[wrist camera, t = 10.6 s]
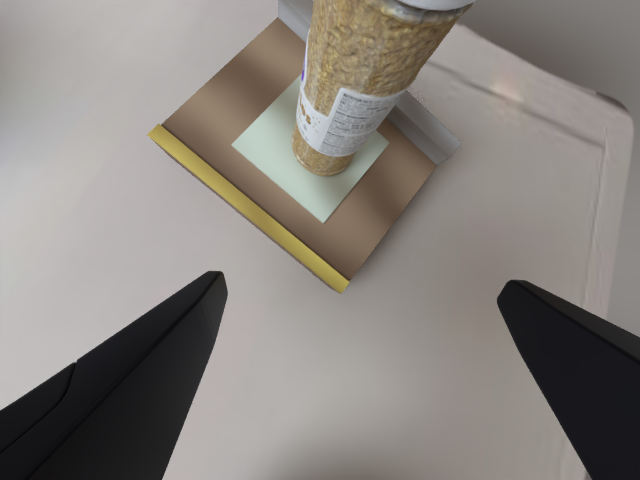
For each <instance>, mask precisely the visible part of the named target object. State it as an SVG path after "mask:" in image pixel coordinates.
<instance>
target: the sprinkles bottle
mask: <svg viewBox="0 0 640 480" xmlns="http://www.w3.org/2000/svg"><path fill="white" fill-rule="evenodd" d="M474 1H476V0H314V4H313V13H312V20H311V26H310V29H309V32H308V37H307V43H306V50H305V57H304V64H303V71H302V77H301V84H300V91H299V98H298V104H297V112H296V125H295V128H294V130H293V135H292V149H293V152H294V154H295V157H296V159H297V161H298V162H299V163H300V164H301V165H302V166H303V167H304V168H305V169H307V170H308V171H310V172H312V173H314V174H317V175H319V176H331V175H336V174H338V173H340V172H342V171H344V170H345V169H346V167H347V166H348V165H349V164H350V163H351V161H352V159H353V157H354V155H355V154H356V152H357V151H358V150H359V149H360V148H361V147H362V146H363V145H364V144H365V143H366V141H367V140H368V139H369V138H370V136H371V135H372V134H373V133H374V131H375V130H376V129H377V127H378V126H379V125H380V124H381V122H382V121H383V120H384V119H385V117H386V116H387V115H388V113H389V112H390V111H391V109H392V108H393V107H394V106H395V104H396V103H397V102H398V100H399V99H400V98H401V97H402V95H403V94H404V93H405V91H406V90H407V89H408V88H409V86H410V85H411V84H412V82H413V81H414V80H415V78H416V76H417V74H418V72H419V71H420V69H421V68H422V66H423V65H424V64H425V63H426V61H427V60H428V59H429V57H430V56H431V55H432V54H433V52H434V51H435V50H436V48H437V47H438V46H439V44H440V43H441V42H442V40H443V39H444V38H445V36H446V35H447V34H448V33H449V31H450V30H451V28H452V27H453V25H454V24H455V22H456V21H457V20H458V19H459V17H460V16H461V15H462V14H463V13H464V12H466V11H467V10H468V9H470V8H471V7H472V4H473V2H474Z"/></svg>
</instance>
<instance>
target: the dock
mask: <svg viewBox="0 0 640 480" xmlns="http://www.w3.org/2000/svg"><path fill="white" fill-rule="evenodd" d="M313 4H314V1H313V0H278V17H277V18H276V19H275V20H274V21H273V22H272V23H271V24H270V25H269V26H268V27H267V28H265V29H264V30H263V31H262V32H261V33H260V34H259V35H258V36H257V37H256V38H255V39H254V40H252V41H251V42H250V43H249V44H248V45H247V46H246V47H245V48H244V49H243V50H242V51H241V52H239V53H238V54H237V55H236V56H235V57H234V58H233V59H232V60H231V61H230V62H229V63H228V64H226V65H225V66H224V67H223V68H222V69H221V70H220V71H219V72H218V73H217V74H216V75H215V76H213V77H212V78H211V79H210V80H209V81H208V82H207V83H206V84H205V85H204V86H203V87H201V88H200V89H199V90H198V91H197V92H196V93H195V94H194V95H193V96H192V97H191V98H190V99H188V100H187V101H186V102H185V103H184V104H183V105H182V106H181V107H180V108H179V109H178V110H177V111H175V112H174V113H173V114H172V115H171V116H170V117H169V118H168V119H167V120H166V121H165V122H164V123H162V124H161V125H160V124H158V125H157V126H156V127H155V128H154V129H153V130H151V131H150V132H149V133H148V134H147V135H148V136H149V137H150V138H151V139H152V140H153V141H154V142H155V143H156V144H157V145H158V146H159V147H160V148H162V149H163V150H164V151H165V152H166V153H167V154H168V155H169V156H170V157H171V158H172V159H174V160H175V161H176V162H177V163H178V164H180V165H181V166H182V167H183V168H185V169H186V170H187V171H188V172H189V173H191V174H192V175H193V176H194V177H196V178H197V179H198V180H199V181H200V182H202V183H203V184H204V185H205V186H206V187H208V188H209V189H210V190H211V191H213V192H214V193H215V194H216V195H217V196H219V197H220V198H221V199H222V200H224V201H225V202H226V203H227V204H228V205H230V206H231V207H232V208H233V209H235V210H236V211H237V212H238V213H239V214H241V215H242V216H243V217H244V218H246V219H247V220H248V221H249V222H250V223H252V224H253V225H254V226H255V227H256V228H258V229H259V230H260V231H261V232H263V233H264V234H265V235H266V236H267V237H269V238H270V239H271V240H272V241H274V242H275V243H276V244H277V245H278V246H280V247H281V248H282V249H283V250H285V251H286V252H287V253H288V254H289V255H291V256H292V257H293V258H294V259H295V260H297V261H298V262H299V263H300V264H302V265H303V266H304V267H305V268H306V269H308V270H309V271H310V272H311V273H313V274H314V275H315V276H316V277H317V278H319V279H320V280H321V281H322V282H324V283H325V284H326V285H327V286H328V287H330V288H331V289H333V290H335V291H337V292H338V293H340V294H341V293H342V292H343V291H344V289H345V288H346V287H347V285H348V284H349V283H350V282H349V281H350V280H351V279H352V277H353V276H354V275H355V273H356V272H357V271H358V269H359V268H360V267H361V265H362V264H363V263H364V261H365V260H366V259H367V257H368V256H369V255H370V253H371V252H372V251H373V249H374V248H375V247H376V245H377V244H378V243H379V241H380V240H381V239H382V237H383V236H384V235H385V234H386V232H387V231H388V230H389V228H390V227H391V226H392V224H393V223H394V222H395V220H396V219H397V218H398V216H399V215H400V214H401V212H402V211H403V210H404V208H405V207H406V206H407V204H408V203H409V202H410V200H411V199H412V198H413V196H414V195H415V194H416V192H417V191H418V190H419V188H420V187H421V186H422V185H423V183H424V182H425V181H426V179H427V178H428V177H429V175H430V174H431V173H432V171H433V170H434V169H435V167H436V166H437V165H438V164H440V163H442V162H444V161H445V160H447V159H449V158H451V156H452V155H453V154H454V152H455V151H456V150H457V148H458V147H459V146H460V144H461V142H460V141H459V140H458V139H457V138H456V137H455V136H454V135H453V134H452V133H451V132H450V131H448V130H447V129H446V128H445V127H444V126H443V125H442V124H441V123H440V122H439V121H438V120H437V119H436V118H435V117H434V116H433V115H432V114H431V113H430V112H429V111H428V110H427V109H425V108H424V107H423V106H422V105H421V104H420V103H419V102H418V101H417V100H416V99H415V98H414V97H413V96H412V95H411V94H410V93H409V92H408V91H407V90H406V91H405V93H404V94H403V95H402V97H401V98H400V99H399V100H398V102H397V103H396V104H395V106H394V107H393V108H392V109H391V111H390V112H389V113H388V115H387V116H386V117H385V119H384V120H383V121H382V122H381V124H380V125H379V126H378V127H377V129H376V130H375V131H374V133H373V134H372V135H371V136H370V138H369V139H368V140H367V141H366V143H365V144H364V145H363V146H362V147H361V148H360V149H359V150H358V151H357V152H356V154H355V155H354V157H353V159H352V161H351V163H350V164H349V165H348V166H347V167H346V169H345V170H344V171H342V172H340V173H338V174H336V175H331V176H319V175H317V174H314V173H312V172H310V171H308V170H307V169H305V168H304V167H303V166H302V165H301V164H300V163H299V162H298V161H297V159H296V157H295V154H294V152H293V149H292V135H293V130H294V128H295V125H296V112H297V104H298V98H299V91H300V84H301V77H302V71H303V64H304V57H305V50H306V43H307V37H308V32H309V29H310V26H311V20H312V13H313Z"/></svg>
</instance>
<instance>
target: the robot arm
mask: <svg viewBox="0 0 640 480" xmlns="http://www.w3.org/2000/svg"><path fill="white" fill-rule="evenodd" d="M227 296H228V291H227V286H226V282H225V278H224V274H223V272H221V271H208V272H206V273H204V274H203V275H201V276H200V277H198V278H197V279H196V280H194V281H193V282H191V283H190V284H188V285H187V286H185V287H184V288H182V289H181V290H179V291H178V292H176V293H175V294H173V295H172V296H170V297H169V298H168V299H166V300H165V301H163V302H162V303H160V304H159V305H157V306H156V307H154V308H153V309H151V310H150V311H148V312H147V313H145V314H144V315H142V316H141V317H140V318H138V319H137V320H135V321H134V322H132V323H131V324H129V325H128V326H126V327H125V328H123V329H122V330H120V331H119V332H117V333H116V334H115V335H113V336H112V337H110V338H109V339H107V340H106V341H104V342H103V343H101V344H100V345H98V346H97V347H95V348H94V349H92V350H91V351H89V352H88V353H87V354H85V355H84V356H82V357H81V358H79V359H78V360H77V362H74V363H72V364H70V365H69V366H67V367H66V368H64V369H63V370H61V371H60V372H58V373H57V374H55V375H54V376H52V377H51V378H49V379H48V380H46V381H45V382H43V383H42V384H40V385H39V386H37V387H36V388H34V389H33V390H31V391H30V392H28V393H27V394H25V395H24V396H22V397H21V398H19V399H18V400H16V401H15V402H13V403H11V404H10V405H8V406H7V407H5V408H3V409H2V410H0V480H162V479H163V476H164V473H165V471H166V468H167V466H168V463H169V461H170V458H171V455H172V453H173V450H174V448H175V445H176V443H177V440H178V437H179V435H180V432H181V430H182V427H183V425H184V422H185V419H186V417H187V414H188V412H189V409H190V407H191V404H192V401H193V399H194V396H195V394H196V391H197V389H198V386H199V383H200V381H201V378H202V376H203V373H204V371H205V368H206V365H207V363H208V360H209V358H210V355H211V353H212V350H213V347H214V344H215V341H216V338H217V334H218V330H219V327H220V323H221V319H222V315H223V312H224V308H225V304H226V300H227ZM497 305H498V307H499V309H500V312H501V314H502V316H503V318H504V320H505V323H506V325H507V327H508V329H509V331H510V334H511V336H512V338H513V340H514V342H515V344H516V347H517V349H518V351H519V353H520V354H521V356H522V358H523V360H524V362H525V363H526V365H527V367H528V369H529V370H530V372H531V374H532V376H533V377H534V379H535V381H536V383H537V384H538V386H539V388H540V390H541V391H542V393H543V395H544V397H545V398H546V400H547V402H548V404H549V405H550V407H551V409H552V411H553V412H554V414H555V416H556V418H557V419H558V421H559V423H560V425H561V426H562V428H563V430H564V432H565V433H566V435H567V437H568V439H569V440H570V442H571V444H572V446H573V447H574V449H575V451H576V452H577V454H578V456H579V458H580V459H581V461H582V463H583V465H584V466H585V468H586V470H587V472H588V473H589V475H590V477H591V479H592V480H640V337H638V336H636V335H634V334H632V333H630V332H628V331H626V330H624V329H622V328H620V327H618V326H616V325H614V324H612V323H610V322H608V321H606V320H604V319H602V318H600V317H598V316H596V315H594V314H592V313H590V312H588V311H586V310H584V309H582V308H580V307H578V306H576V305H574V304H572V303H570V302H568V301H566V300H564V299H562V298H560V297H558V296H556V295H554V294H552V293H550V292H548V291H546V290H544V289H542V288H540V287H538V286H536V285H534V284H532V283H530V282H528V281H525V280H510V281H508V282H507V283H506V285H505V286H504V288H503V290H502V291H501V293H500V294H499V296H498V298H497Z"/></svg>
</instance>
